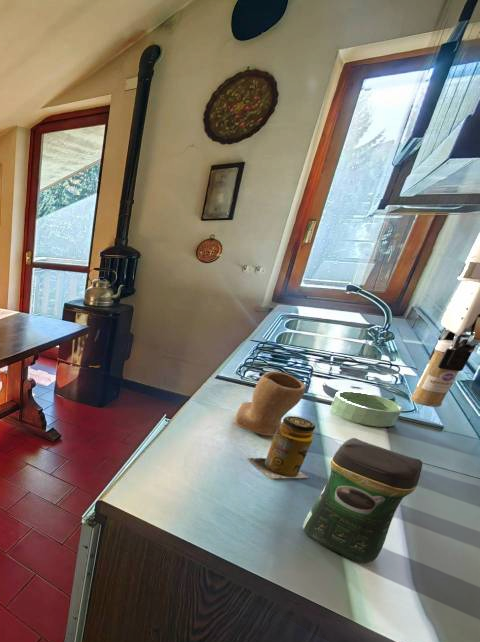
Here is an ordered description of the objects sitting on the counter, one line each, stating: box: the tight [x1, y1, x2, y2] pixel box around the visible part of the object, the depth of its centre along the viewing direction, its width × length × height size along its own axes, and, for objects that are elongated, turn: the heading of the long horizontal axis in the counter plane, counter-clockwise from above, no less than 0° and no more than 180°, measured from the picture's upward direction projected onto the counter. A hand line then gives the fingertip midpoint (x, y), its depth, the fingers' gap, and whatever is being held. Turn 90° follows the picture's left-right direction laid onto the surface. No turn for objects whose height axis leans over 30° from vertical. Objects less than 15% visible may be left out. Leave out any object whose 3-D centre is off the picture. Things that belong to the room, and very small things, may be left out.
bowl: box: [329, 390, 404, 428], centre depth 107 cm, size 13×13×5 cm
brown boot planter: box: [234, 371, 307, 437], centre depth 100 cm, size 15×12×15 cm
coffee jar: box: [302, 437, 423, 563], centre depth 63 cm, size 10×8×19 cm
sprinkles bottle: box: [409, 340, 460, 408], centre depth 80 cm, size 5×5×14 cm
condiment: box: [246, 415, 316, 479], centre depth 83 cm, size 7×8×12 cm
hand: (444, 364), depth 79 cm, fingers closed on sprinkles bottle, 4 cm apart
